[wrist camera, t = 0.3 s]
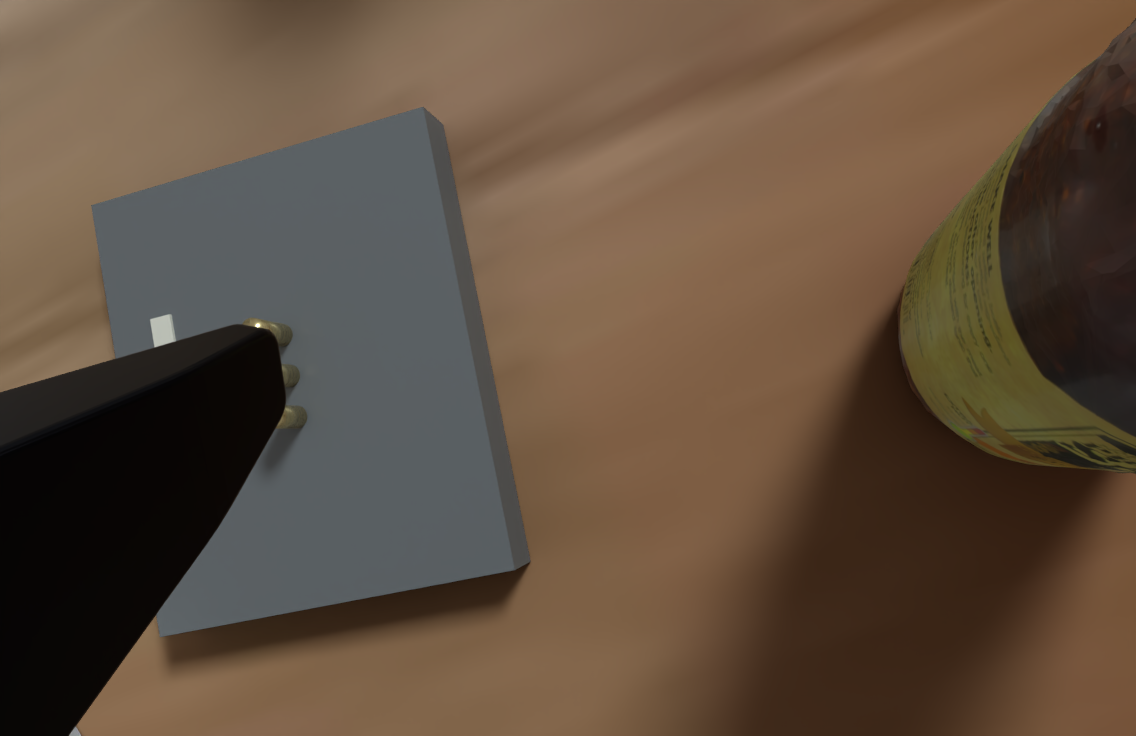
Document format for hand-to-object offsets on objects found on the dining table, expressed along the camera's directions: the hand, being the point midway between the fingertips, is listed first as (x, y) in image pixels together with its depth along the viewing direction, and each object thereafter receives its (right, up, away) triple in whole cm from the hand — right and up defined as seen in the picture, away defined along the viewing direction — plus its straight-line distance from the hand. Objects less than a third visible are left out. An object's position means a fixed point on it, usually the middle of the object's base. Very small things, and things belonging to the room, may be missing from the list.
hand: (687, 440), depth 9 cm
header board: (-8, 0, +17) cm, 19 cm away
